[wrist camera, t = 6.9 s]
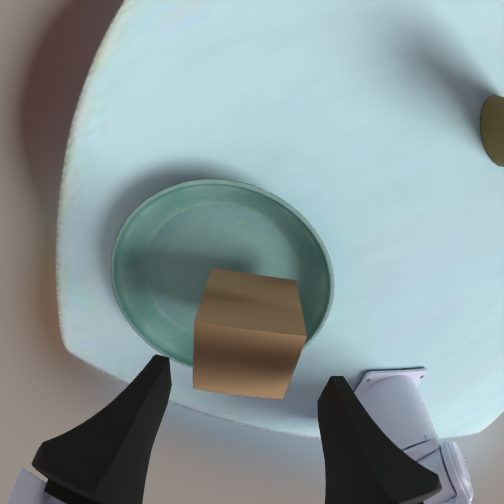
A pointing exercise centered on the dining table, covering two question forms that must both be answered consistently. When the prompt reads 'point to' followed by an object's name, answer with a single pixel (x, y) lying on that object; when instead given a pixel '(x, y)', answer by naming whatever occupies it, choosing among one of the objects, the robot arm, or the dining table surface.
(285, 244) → the saucer
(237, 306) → the walnut block
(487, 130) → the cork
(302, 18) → the dining table surface
